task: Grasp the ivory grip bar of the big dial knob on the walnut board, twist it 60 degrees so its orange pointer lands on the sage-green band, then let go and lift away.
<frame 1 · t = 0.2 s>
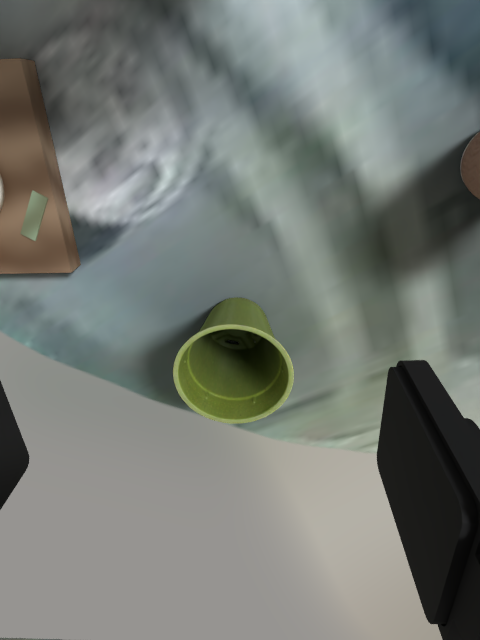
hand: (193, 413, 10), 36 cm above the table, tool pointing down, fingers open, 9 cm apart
plant pot: (238, 323, 50), on the table
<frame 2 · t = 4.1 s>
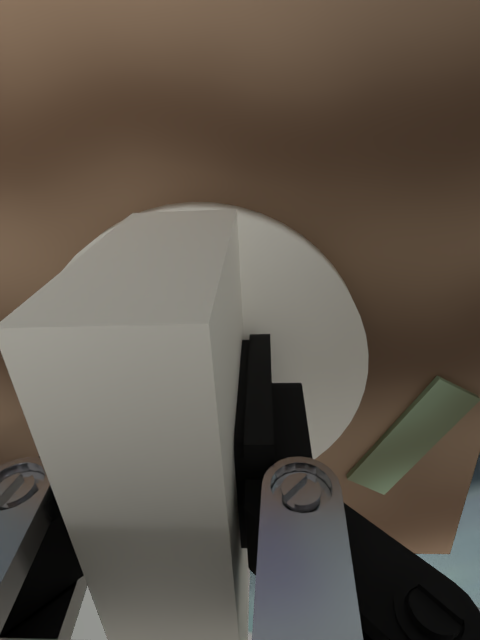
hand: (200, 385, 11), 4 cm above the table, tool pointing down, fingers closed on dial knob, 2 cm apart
dial knob: (199, 500, 10), point 6 cm above the table, hinge at 0.0°, touching gripper
dial board: (216, 311, 15), on the table
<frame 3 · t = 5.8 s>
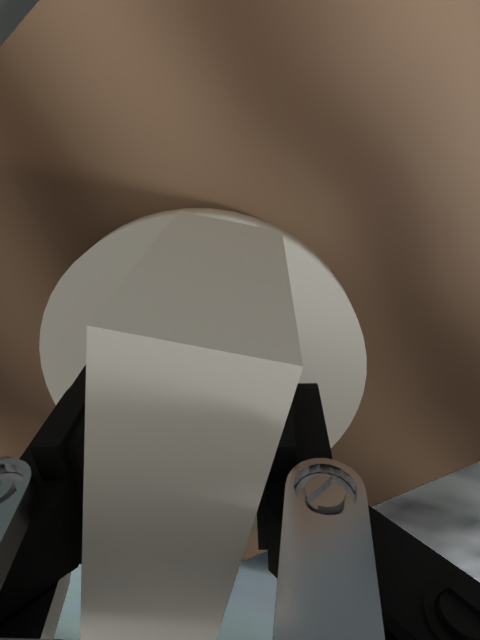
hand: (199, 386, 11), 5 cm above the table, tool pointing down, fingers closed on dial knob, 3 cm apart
dial knob: (177, 502, 10), point 6 cm above the table, hinge at 41.8°, touching gripper
dial board: (215, 314, 15), on the table
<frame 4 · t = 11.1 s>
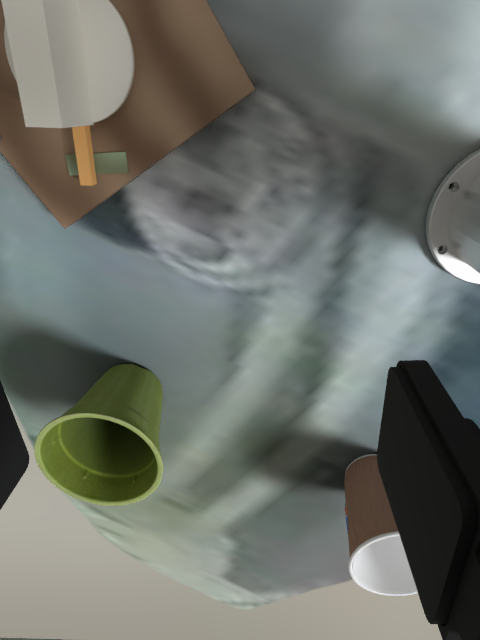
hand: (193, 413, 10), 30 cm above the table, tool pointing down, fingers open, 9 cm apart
dial knob: (59, 89, 28), point 6 cm above the table, hinge at 55.5°
dial board: (89, 59, 33), on the table
coffee cup: (371, 471, 52), on the table
plant pot: (133, 388, 48), on the table
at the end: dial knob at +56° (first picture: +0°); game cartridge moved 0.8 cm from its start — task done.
